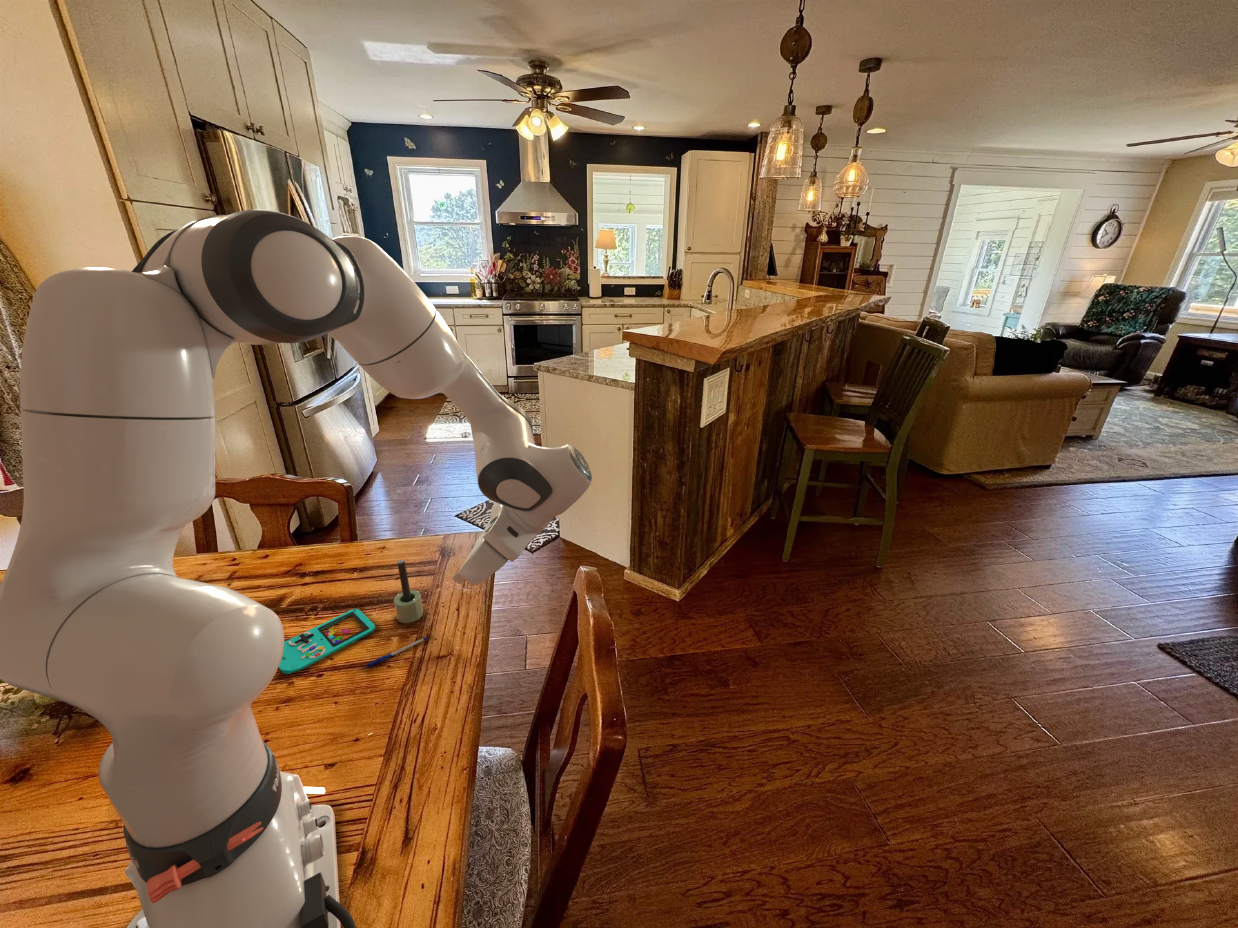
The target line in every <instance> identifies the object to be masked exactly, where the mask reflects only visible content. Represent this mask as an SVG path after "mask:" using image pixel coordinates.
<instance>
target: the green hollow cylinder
mask: <svg viewBox="0 0 1238 928" xmlns="http://www.w3.org/2000/svg"><path fill="white" fill-rule="evenodd" d="M410 593H411V599H412V601H409V602H404V597H403V592H399V593H398V594H397V595H396V596H395V597H394V599H393V605H394V611H395V616H396V619H397V620H398V622H400V623H402V624H411V623H414V622H416V621H418V620H420V619H421V617H422V616H423V615H424V605H423V600H422V595H421V593H420V592H419V591H418V590H416V589H415V590H414V589H410Z"/></svg>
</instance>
